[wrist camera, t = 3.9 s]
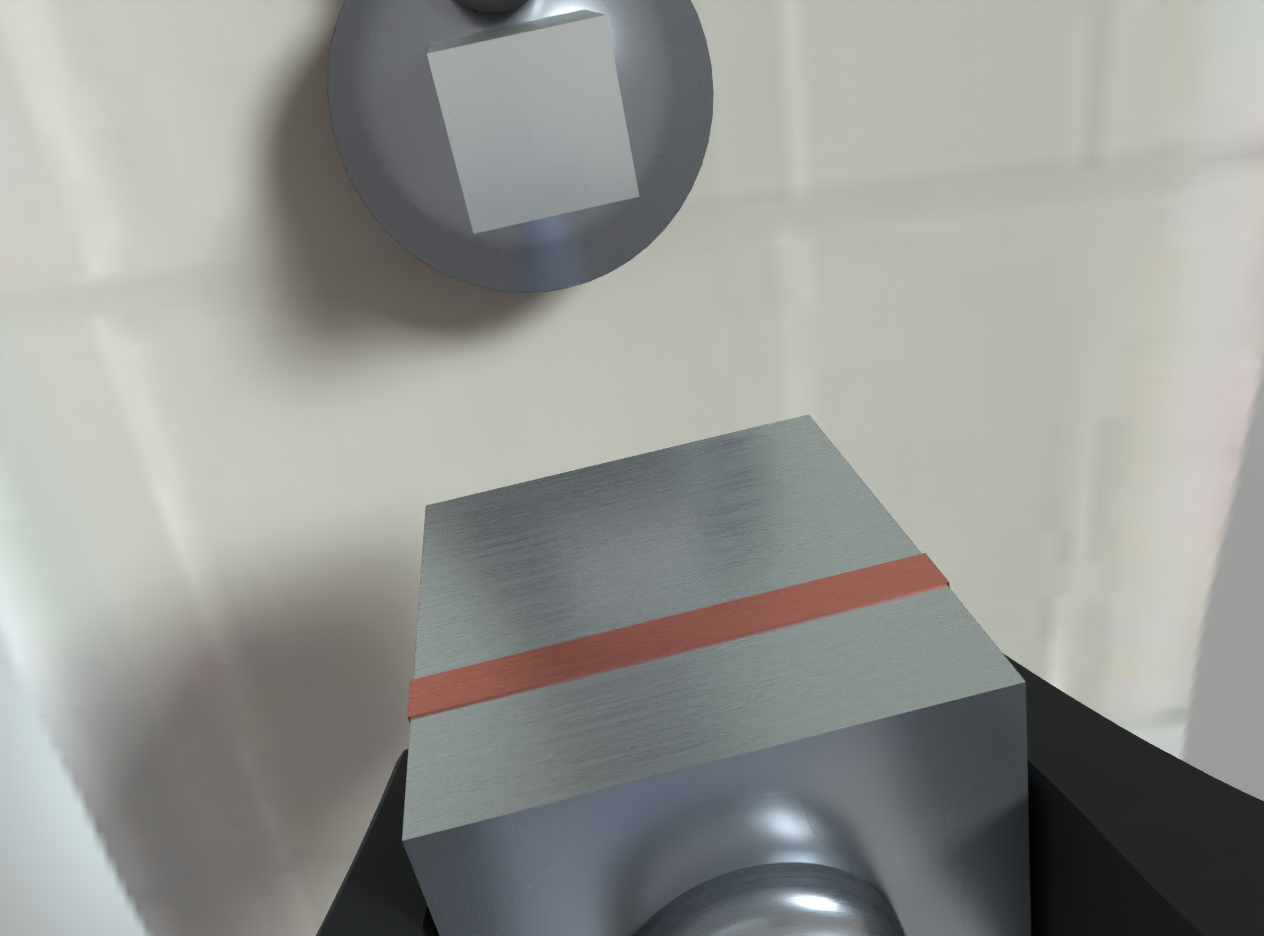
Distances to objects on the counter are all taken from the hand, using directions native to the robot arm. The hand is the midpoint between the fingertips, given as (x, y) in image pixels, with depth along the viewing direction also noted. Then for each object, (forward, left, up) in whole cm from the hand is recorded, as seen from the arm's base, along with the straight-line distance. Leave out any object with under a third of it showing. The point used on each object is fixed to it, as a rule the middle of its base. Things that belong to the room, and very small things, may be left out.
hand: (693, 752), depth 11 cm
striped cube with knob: (0, 0, -2) cm, 2 cm away
